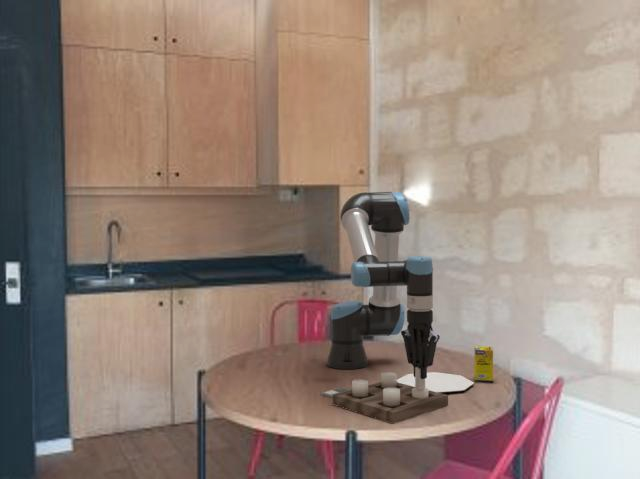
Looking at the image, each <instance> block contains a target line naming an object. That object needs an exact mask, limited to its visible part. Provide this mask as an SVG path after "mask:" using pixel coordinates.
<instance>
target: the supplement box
mask: <svg viewBox="0 0 640 479" xmlns="http://www.w3.org/2000/svg"><path fill="white" fill-rule="evenodd" d="M473 357H474V377H473V378H474V379H473V380H474V382H475V383H484V384H485V383H486V384H487V383H489V384H490V383H491V384H492V383H494V349H493V346H474V356H473Z"/></svg>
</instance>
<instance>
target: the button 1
mask: <svg viewBox="0 0 640 479" xmlns="http://www.w3.org/2000/svg"><path fill="white" fill-rule="evenodd" d="M368 385H369V381H368V380H367V379H361V378H360V379H353V380H351V390H352V396H355V397H366V396H368Z"/></svg>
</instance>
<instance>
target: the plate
mask: <svg viewBox="0 0 640 479" xmlns="http://www.w3.org/2000/svg"><path fill="white" fill-rule="evenodd" d="M397 383H401V384H405V385H409V386H413V387H415V377H414V373H407V374H405V375H404V376H401V377H400V378H398V379H397ZM472 386H474V382H473V381H472V380H470V379H468V378H466V377H465V376H463V375H459V374H453V373H443V372H435V371H431V372H427V378H425V388H427V389H428V390H429V391H433V392H437V393H441V394H447V393H457V392H459V393H461V392H465V391H466V390H467V389H469V388H470V387H472Z"/></svg>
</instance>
